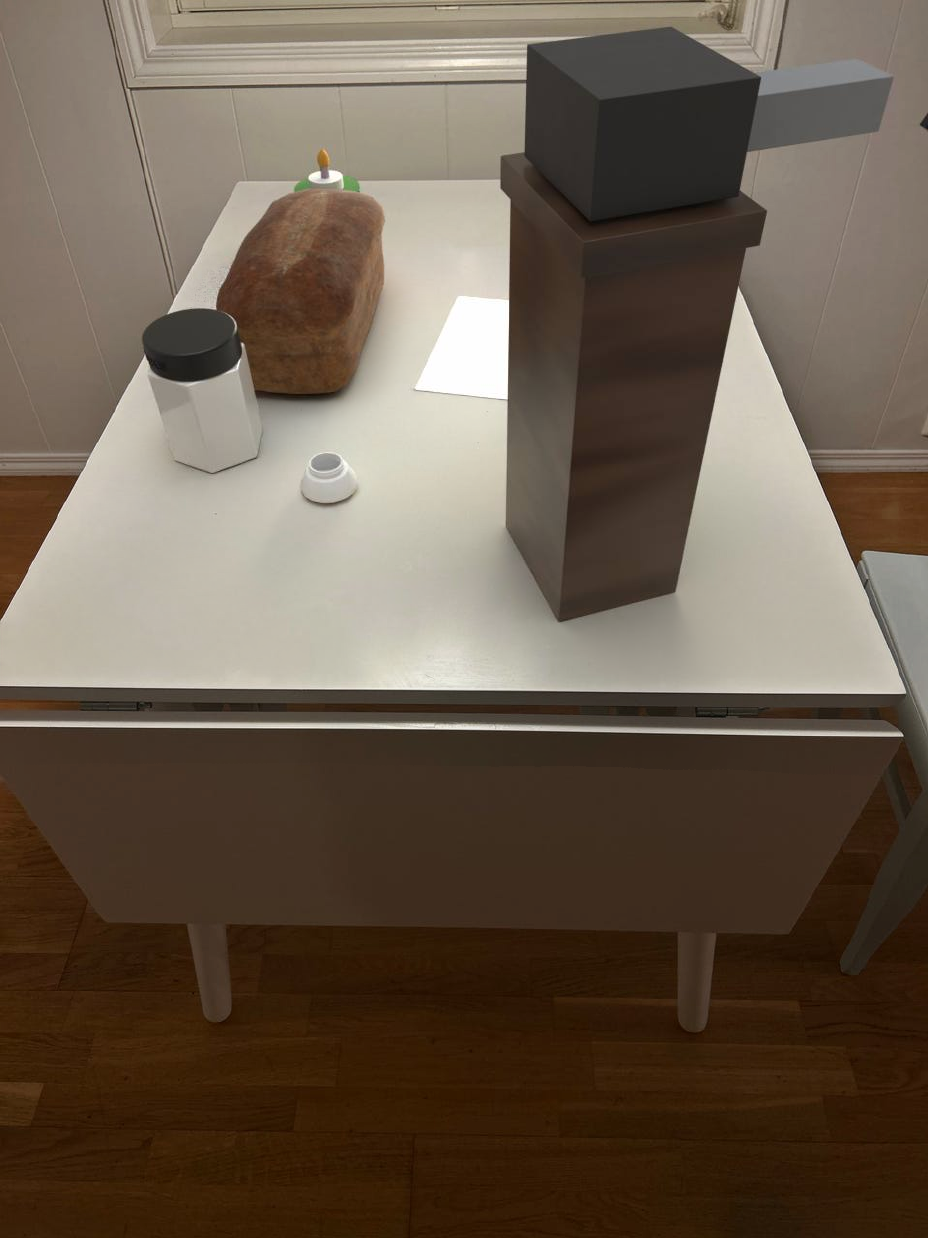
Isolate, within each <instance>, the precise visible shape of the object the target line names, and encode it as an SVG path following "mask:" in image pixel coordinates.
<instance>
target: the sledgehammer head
mask: <svg viewBox="0 0 928 1238" xmlns="http://www.w3.org/2000/svg"><path fill="white" fill-rule="evenodd" d="M525 75H526V76H525V112H524V113H525V115H524V116H525V117H524V151H523V152H524V156H525V157H526V158H527V159H528V160H529V161H530V162H531V163H532V164H533V165H534V166H535V167H536V168H537V169H538V170H539V171H540V172H541V173H542V174H543V175H544V176H545V177H546V178H547V179H548V180H549V181H550V182H551V183H552V184H553V185H554V186H555V187H556V188H557V189H558V190H559V191H560V192H561V193H562V194H563V195H564V196H565V197H566V198H567V199H568V200H569V201H570V202H571V203H572V204H573V205H574V206H575V207H576V208H577V209H578V210H579V211H580V212H581V213H582V214H583V215H584V216H585V217H586V218H587V219H588V220H589V221H597V220H603V219H609V218H615V217H621V216H627V215H633V214H638V213H644V212H650V211H656V210H662V209H668V208H674V207H680V206H686V205H692V204H698V203H704V202H710V201H716V200H722V199H728V198H734V197H738V196H739V192H740V191H741V186H742V181H743V176H744V170H745V165H746V160H747V155H748V153H751V152H756V151H757V152H758V151H763V150H769V149H770V150H771V149H775V148H776V149H777V148H782V147H788V146H795V145H800V144H801V145H802V144H808V143H809V144H810V143H814V142H820V141H821V142H822V141H827V140H828V141H829V140H833V139H840V138H845V137H846V138H847V137H852V136H860V135H866V134H871V133H878V132H879V130H880V129H881V124H882V121H883V118H884V117H883V116H884V114H885V113H884V112H885V110H886V106H887V103H888V100H889V95H890V92H891V89H892V87H893V86H892V85H893V82H894V78H895V76H894V75H893V74H891V73H889V72H887V71H884V70H882V69H880V68H878V67H876V66H874V65H871V64H870V63H868V62H866V61H863V60H861V59H859V58H851V59H843V60H837V61H829V62H822V63H816V64H808V65H799V66H792V67H785V68H778V69H771V70H764V71H757V72H753V71H751V70H750V69H748V68H746V67H744V66H742V65H740V64H739V63H737V62H736V61H734V60H732V59H729V58H728V57H726V56H725V55H723V54H721V53H720V52H718V51H715V50H714V49H712V48H711V47H708V46H706V45H705V44H703V43H701V42H700V41H698V40H696V39H694V38H692V37H691V36H689V35H687V34H686V33H683V32H681V31H680V30H678V29H677V28H675V27H673V26H664V27H655V28H648V29H641V30H631V31H624V32H616V33H608V34H601V35H591V36H584V37H575V38H567V39H560V40H559V39H558V40H551V41H543V42H536V43H535V42H534V43H528V44H526V74H525Z"/></svg>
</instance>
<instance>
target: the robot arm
mask: <svg viewBox="0 0 928 1238" xmlns="http://www.w3.org/2000/svg"><path fill="white" fill-rule="evenodd" d="M918 125H919V126H920V127H921V128H923V129H924V130H926V131H927V132H928V112H927V113H926V114H925V116H924V117H923V119H921V122H920V123H919V124H918Z"/></svg>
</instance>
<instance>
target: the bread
mask: <svg viewBox="0 0 928 1238" xmlns="http://www.w3.org/2000/svg"><path fill="white" fill-rule="evenodd" d="M385 217H386V216H385V212H384V209H383V205H382V204H380V203H379V202H378V201H377V200H376V199H375V197H373V196H371V195H368V194H365V193H363V192H361V191H360V192H354V191H348V190H339V189H305V190H301V191H297V192H294V191H293V192H289V193H287V194H285V195H284V196H281V197H280V198H277V199H274V200H273V201H272V202H271V203H270V204H269V206H268V207H267V209H266V211H264V214H263V215H262V217H261V218H260V219H259V220H258V221H257V222H256V224H255V225H254V226H253V227H252V228H251V229H250V230H249V231H248V233H247V234H246V235H245V236H244V238H243V239H242V242H241V244H240V245H239V248H238V250H237V252H236V254H235V257H234V259H233V261H232V264H231V265H230V268H229V270H228V273H227V275H226V277H225V279H224V280H223V282H222V284H221V286H220V287H219V289H218V290H219V291H218V293H217V296H216V303H215V310H218V311H222V312H224V313H227V314H228V315H230V316H231V317H232V318H233V319H234V320H235V322H236V324H237V328H238V332H239V337H240V341H241V343H243V344H244V345H245V350H246V354H247V359H248V363H249V368H250V372H251V377H252V381H253V386H254V391H260V392H266V393H273V394H274V393H275V394H276V393H277V394H286V395H287V394H288V395H314V394H316V395H317V394H327V393H328V394H329V393H335V392H337V391H338V390H339V389H341V388H342V387H344V386H345V385H347V384H348V383H349V381H350V380H351V378H352V377H353V375H354V374H355V372H356V371H357V368H358V364H359V360H360V356H361V352H362V349H363V347H364V344H365V341H366V339H367V336H368V334H369V331H370V328H371V325H372V324H373V323H372V322H373V319H374V316H375V313H376V310H377V306H378V303H379V298H380V296H381V293H382V290H383V287H384V284H385V260H384V251H383V250H384V249H383V234H382V233H383V230H384V225H385V222H386V218H385Z"/></svg>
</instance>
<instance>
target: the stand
mask: <svg viewBox="0 0 928 1238" xmlns="http://www.w3.org/2000/svg"><path fill="white" fill-rule="evenodd" d="M524 152H525V151H523V152H516V153H509V154H503V155H500V177H499V184H500V185H499V187H500V190H501V191H502V192H503V194H504V195H506V196H507V197H508V199H509V200H510V201H509V205H510V206H509V207H510V208H509V212H510V213H509V263H508V264H509V267H508V269H509V272H508V273H509V274H508V278H509V279H508V301H509V332H508V400H506V401H507V403H506V405H507V407H506V408H507V411H506V412H507V413H506V414H507V415H506V471H505V472H506V473H505V474H506V479H505V480H506V481H505V527H506V529H507V531H508V533H509V535H510V537H511V538H512V540H513V542H514V544H515V545H516V547H517V549H518V551H519V553H520V555H521V556H522V558H523V560H524V562H525V564H526V565H527V567H528V569H529V571H530V572H531V575H532V576H533V579H534V580H535V581H536V584H537V585H538V587H539V589H540V591H541V592H542V594H543V596H544V598H545V600H546V602H547V603H548V605H549V607H550V609H551V611H552V612H553V615H554V616H555V618H556V619H557V621H558V623H560V622H565V621H568V620H573V619H576V618H581V617H583V616H589V615H591V614H596V613H599V612H604V611H607V610H611V609H614V608H618V607H622V606H625V605H626V606H627V605H631V604H633V603H638V602H641V601H645V600H649V599H653V598H656V597H660V596H664V595H668V594H672V593H675V592H677V588H678V587H677V586H678V583H679V577H680V573H681V568H682V562H683V558H684V553H685V547H686V545H687V539H688V533H689V529H690V523H691V518H692V515H693V510H694V506H695V505H694V504H695V501H696V495H697V489H698V485H699V480H700V476H701V470H702V465H703V461H704V456H705V451H706V446H707V442H708V437H709V432H710V427H711V421H712V417H713V412H714V406H715V403H716V398H717V392H718V387H719V384H720V378H721V373H722V368H723V364H724V358H725V354H726V349H727V344H728V339H729V334H730V330H731V324H732V319H733V316H734V309H735V305H736V299H737V295H738V291H739V286H740V281H741V276H742V271H743V266H744V261H745V257H746V252H747V249H749V248H755V247H759V246H761V242H762V237H763V234H764V227H765V223H766V219H767V215H768V210H767V209H766V208H765V207H763V206H762V205H761V204H759V203H758V202H757V201H755V200H754V199H753V198H751V197H750V196H748V195H747V194H746V193H745V192H743V191H742V190H740V192H739V196H738V197H734V198H728V199H722V200H716V201H710V202H704V203H698V204H692V205H686V206H680V207H674V208H668V209H662V210H656V211H650V212H644V213H638V214H633V215H627V216H621V217H615V218H609V219H603V220H597V221H589V220H588V219H587V218H586V217H585V216H584V215H583V214H582V213H581V212H580V211H579V210H578V209H577V208H576V207H575V206H574V205H573V204H572V203H571V202H570V201H569V200H568V199H567V198H566V197H565V196H564V195H563V194H562V193H561V192H560V191H559V190H558V189H557V188H556V187H555V186H554V185H553V184H552V183H551V182H550V181H549V180H548V179H547V178H546V177H545V176H544V175H543V174H542V173H541V172H540V171H539V170H538V169H537V168H536V167H535V166H534V165H533V164H532V163H531V162H530V161H529V160H528V159H527V158H526V157H525V156H524Z"/></svg>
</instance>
